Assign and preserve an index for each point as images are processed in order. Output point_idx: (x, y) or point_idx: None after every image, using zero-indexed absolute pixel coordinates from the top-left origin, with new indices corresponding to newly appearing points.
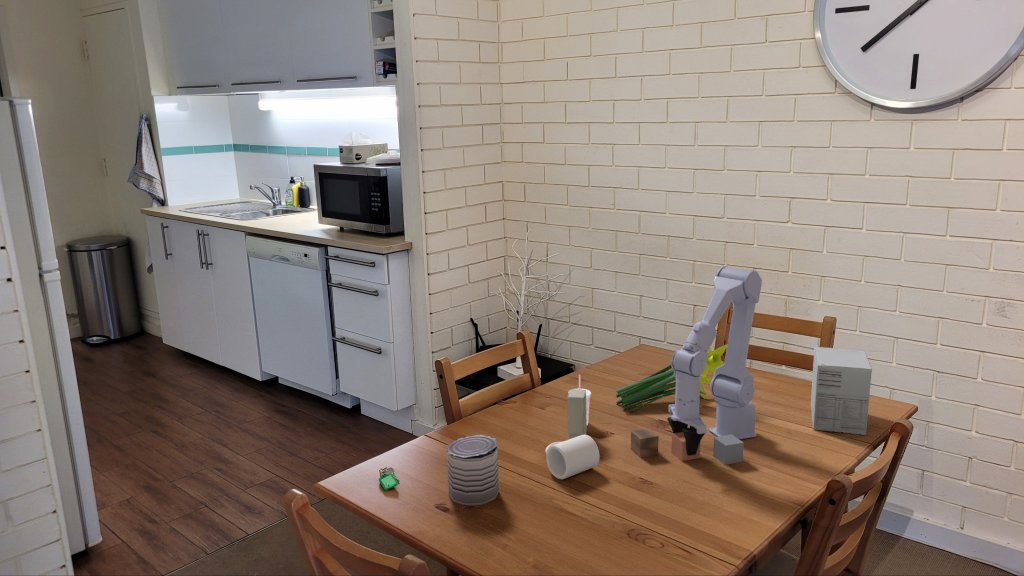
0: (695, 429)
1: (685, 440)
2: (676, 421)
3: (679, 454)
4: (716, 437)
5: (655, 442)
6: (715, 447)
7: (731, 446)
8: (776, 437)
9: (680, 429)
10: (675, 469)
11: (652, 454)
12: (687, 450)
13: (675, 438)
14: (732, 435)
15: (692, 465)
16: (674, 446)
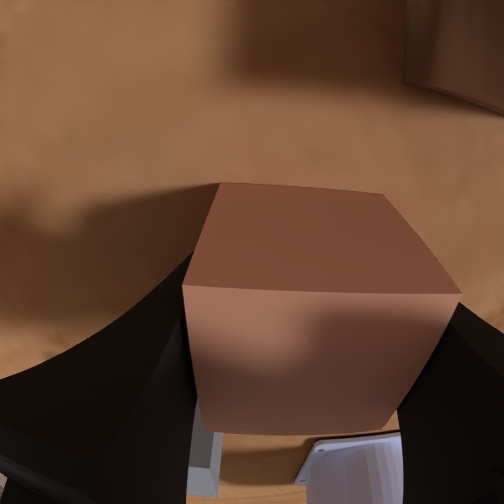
0: (7, 502)
1: (171, 331)
2: (495, 463)
3: (256, 199)
4: (203, 471)
5: (468, 53)
6: (194, 416)
7: None
8: (269, 492)
9: (432, 399)
10: (109, 71)
11: (409, 33)
12: (181, 267)
13: (374, 276)
14: (204, 496)
15: (133, 217)
16: (360, 221)
